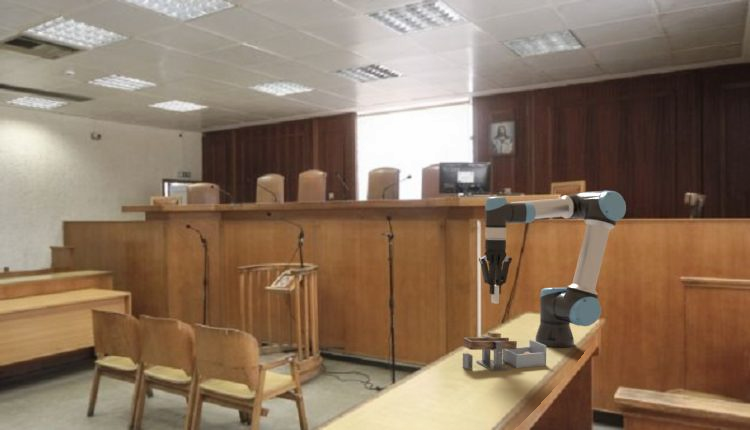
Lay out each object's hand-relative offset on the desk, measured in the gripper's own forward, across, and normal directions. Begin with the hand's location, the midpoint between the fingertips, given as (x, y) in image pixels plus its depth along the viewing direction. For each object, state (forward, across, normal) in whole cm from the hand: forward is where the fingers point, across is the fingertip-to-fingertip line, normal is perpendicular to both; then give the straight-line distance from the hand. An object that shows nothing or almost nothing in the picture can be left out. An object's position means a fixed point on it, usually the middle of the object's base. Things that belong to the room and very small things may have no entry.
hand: (495, 302), depth 198 cm
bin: (+20, -6, +9) cm, 23 cm away
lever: (+14, +7, +5) cm, 16 cm away
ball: (+20, -7, +9) cm, 23 cm away
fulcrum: (+20, +10, +9) cm, 24 cm away
